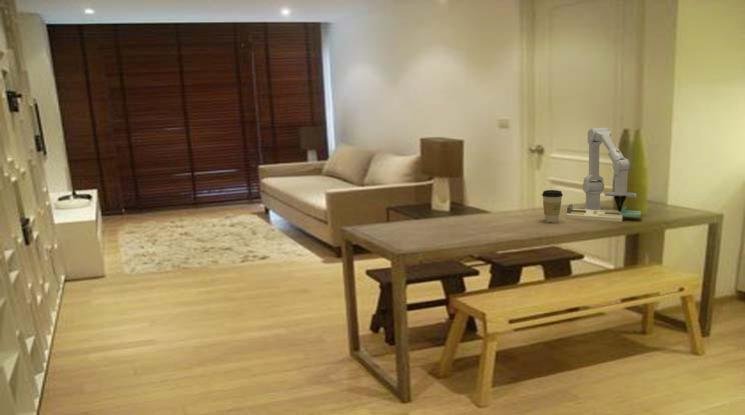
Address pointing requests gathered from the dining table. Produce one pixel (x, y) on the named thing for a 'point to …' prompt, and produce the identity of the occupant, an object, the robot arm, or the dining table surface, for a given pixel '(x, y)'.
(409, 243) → the dining table surface
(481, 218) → the dining table surface
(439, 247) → the dining table surface
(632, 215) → the cover
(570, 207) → the t key
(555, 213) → the coffee cup
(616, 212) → the board
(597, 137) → the robot arm
